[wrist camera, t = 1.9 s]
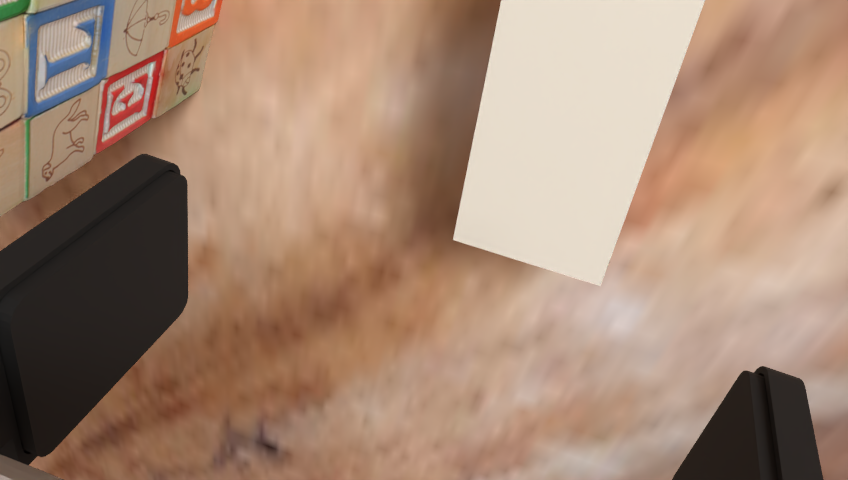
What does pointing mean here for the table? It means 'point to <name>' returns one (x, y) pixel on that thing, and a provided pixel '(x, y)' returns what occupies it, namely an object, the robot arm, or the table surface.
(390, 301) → the table surface
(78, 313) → the robot arm
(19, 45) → the stack of blocks
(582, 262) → the cream bar block
